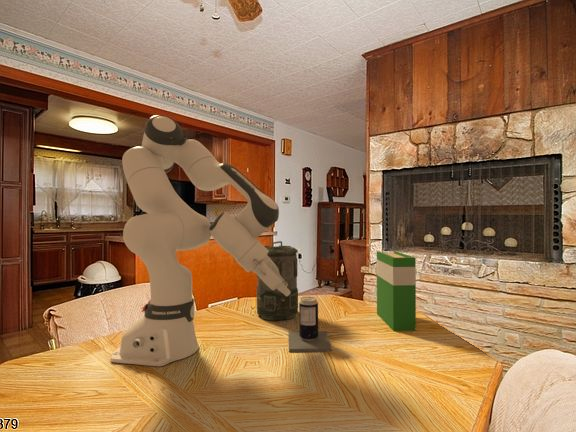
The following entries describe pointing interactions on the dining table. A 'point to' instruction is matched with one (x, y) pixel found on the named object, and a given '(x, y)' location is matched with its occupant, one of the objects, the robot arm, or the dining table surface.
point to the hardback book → (396, 290)
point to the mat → (308, 343)
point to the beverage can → (308, 318)
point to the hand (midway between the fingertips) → (287, 290)
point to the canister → (274, 301)
